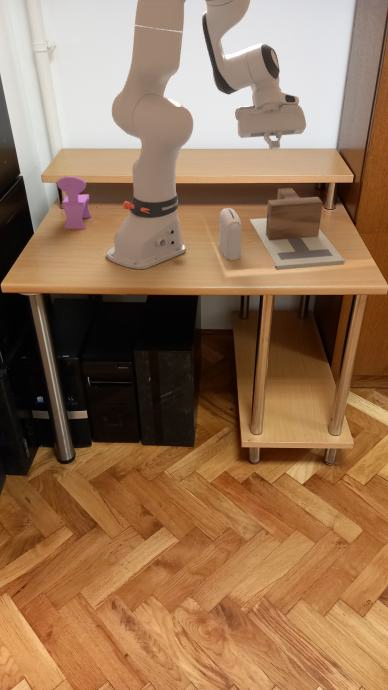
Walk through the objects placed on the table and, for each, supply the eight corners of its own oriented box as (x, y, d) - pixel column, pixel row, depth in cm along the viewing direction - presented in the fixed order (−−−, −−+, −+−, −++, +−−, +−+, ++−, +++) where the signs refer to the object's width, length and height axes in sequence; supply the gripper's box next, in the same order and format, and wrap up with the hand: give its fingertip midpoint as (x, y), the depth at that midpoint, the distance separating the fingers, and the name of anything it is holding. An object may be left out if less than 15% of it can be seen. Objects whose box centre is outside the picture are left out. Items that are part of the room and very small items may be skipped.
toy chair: (95, 217, 176) (89, 168, 168) (88, 228, 169) (82, 178, 160) (68, 216, 177) (61, 167, 168) (61, 228, 170) (53, 178, 161)
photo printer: (217, 247, 158) (218, 204, 151) (232, 246, 159) (234, 203, 152) (226, 264, 150) (227, 219, 143) (242, 263, 150) (244, 218, 143)
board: (249, 223, 171) (249, 219, 171) (308, 218, 173) (308, 215, 173) (276, 270, 147) (276, 265, 146) (343, 264, 149) (344, 260, 149)
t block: (258, 222, 168) (260, 189, 163) (305, 219, 170) (308, 186, 164) (269, 240, 159) (271, 205, 153) (318, 236, 160) (322, 202, 155)
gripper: (235, 100, 168) (242, 144, 166) (303, 96, 170) (310, 140, 168) (232, 113, 174) (238, 155, 172) (298, 108, 176) (304, 150, 174)
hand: (274, 147), depth 170 cm, fingers closed
